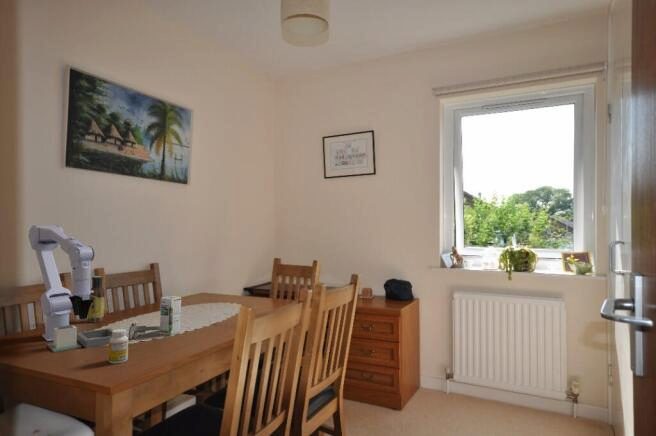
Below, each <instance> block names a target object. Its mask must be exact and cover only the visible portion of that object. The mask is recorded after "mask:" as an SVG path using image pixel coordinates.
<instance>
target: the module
mask: <svg viewBox="0 0 656 436" xmlns="http://www.w3.org/2000/svg"><path fill="white" fill-rule="evenodd" d="M77 333H78V327H77V326H75V325H74V324H69V325H66V326H59V327H58V328H54V340H53V343H54V346H55V347H56V348H60V347H66V346H72V345H77V343H78V341H77Z"/></svg>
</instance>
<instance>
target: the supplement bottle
mask: <svg viewBox="0 0 656 436" xmlns="http://www.w3.org/2000/svg"><path fill="white" fill-rule="evenodd" d="M112 330H113V331H112V336H113V337H112V338H110V340H109V344H108V362H109V363H110V364H122V363H126V361H128V358H129V339H128V337H129V336H128V335H127V329H125V328H118V329H112Z"/></svg>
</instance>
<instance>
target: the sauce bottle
mask: <svg viewBox="0 0 656 436" xmlns="http://www.w3.org/2000/svg"><path fill="white" fill-rule="evenodd" d="M91 282H92V283H91V287H90V290H93V291H94V293H90V295H89V299H93V302H92V304H91V306H90V308H89V312H88V316H87V321H88V322H89V323H101V322H103V321H104V317H105V297H106V296H105V290H104V288H103V275H94V276H91Z"/></svg>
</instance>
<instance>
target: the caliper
mask: <svg viewBox="0 0 656 436" xmlns="http://www.w3.org/2000/svg"><path fill="white" fill-rule="evenodd" d="M148 331H160V325H157V326H156V325H155V326H153V325H152V326H147V325H137V323H135V322H134V323H133V322H132V323H131V326H129V329H128V336H127V337H128V341H129V340H130V341H132V340H135V339H137V337H138V334H139V333H140V334H146V332H148Z"/></svg>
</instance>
